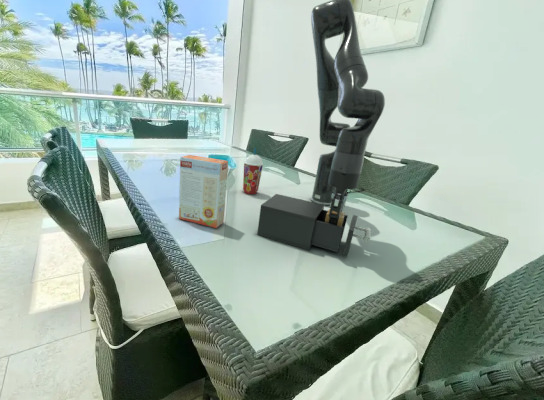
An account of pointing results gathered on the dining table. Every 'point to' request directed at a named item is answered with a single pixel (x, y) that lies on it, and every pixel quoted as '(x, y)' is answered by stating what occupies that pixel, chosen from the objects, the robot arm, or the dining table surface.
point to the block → (340, 220)
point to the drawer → (335, 233)
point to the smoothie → (252, 173)
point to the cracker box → (202, 190)
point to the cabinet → (289, 220)
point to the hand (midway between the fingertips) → (332, 226)
